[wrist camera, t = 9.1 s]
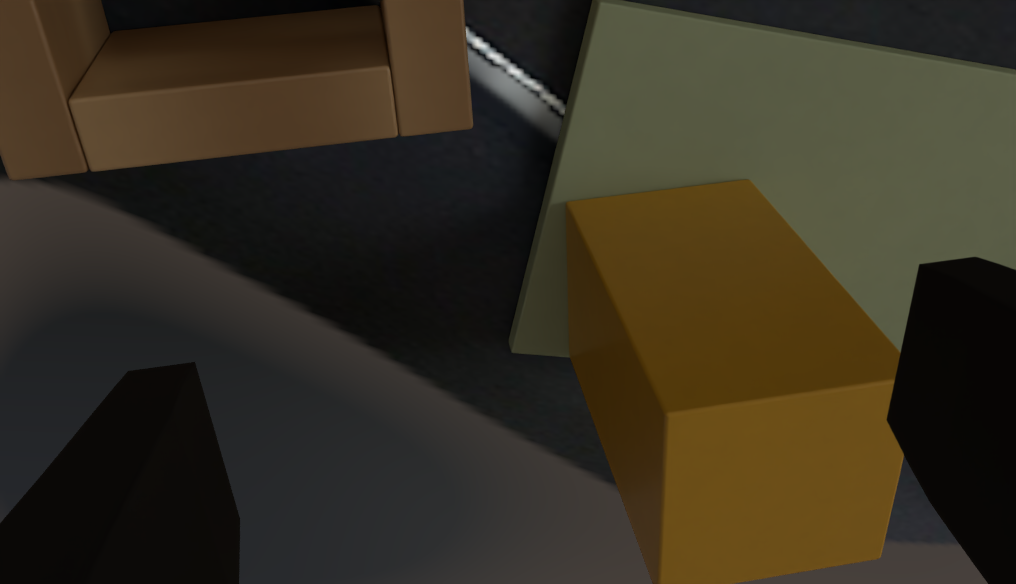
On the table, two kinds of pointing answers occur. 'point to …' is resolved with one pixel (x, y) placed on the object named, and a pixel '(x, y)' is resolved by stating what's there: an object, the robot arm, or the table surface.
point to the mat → (783, 150)
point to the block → (729, 385)
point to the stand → (222, 83)
